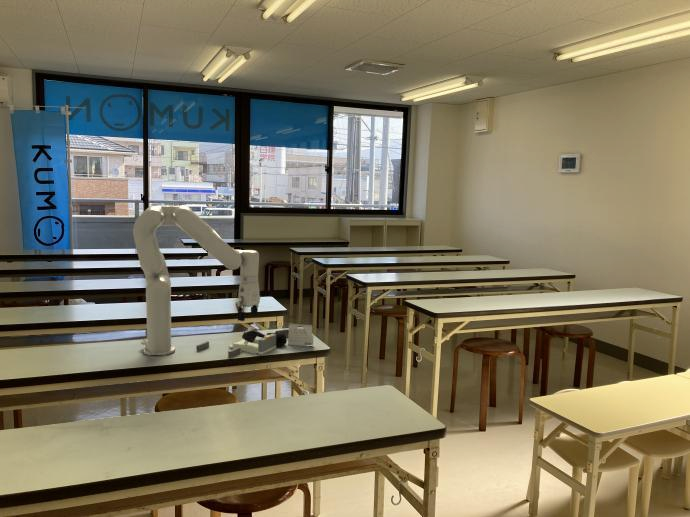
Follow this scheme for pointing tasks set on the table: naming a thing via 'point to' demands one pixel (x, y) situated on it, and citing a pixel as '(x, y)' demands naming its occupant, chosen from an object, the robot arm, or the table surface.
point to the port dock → (257, 344)
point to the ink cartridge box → (300, 335)
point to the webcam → (279, 339)
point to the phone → (283, 332)
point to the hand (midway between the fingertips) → (247, 318)
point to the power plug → (251, 335)
